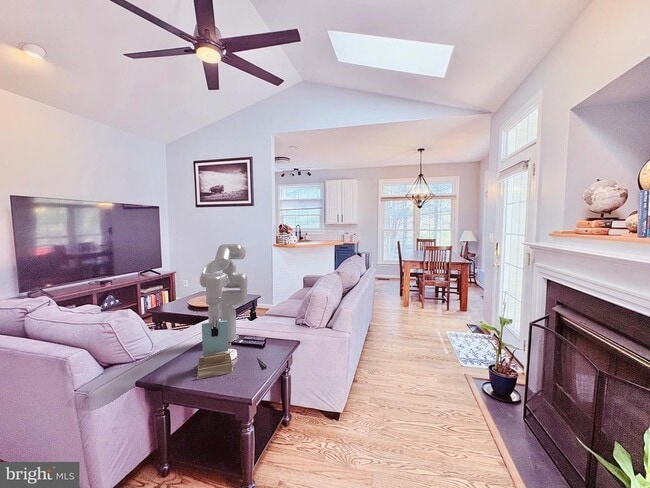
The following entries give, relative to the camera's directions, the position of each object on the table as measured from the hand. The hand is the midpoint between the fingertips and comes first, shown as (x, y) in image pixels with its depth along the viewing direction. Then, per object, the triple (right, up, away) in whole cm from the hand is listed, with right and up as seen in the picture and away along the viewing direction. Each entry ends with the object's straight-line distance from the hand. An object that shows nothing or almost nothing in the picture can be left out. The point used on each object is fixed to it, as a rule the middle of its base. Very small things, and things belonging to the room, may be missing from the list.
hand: (214, 335), depth 142 cm
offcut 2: (+3, -15, -6) cm, 17 cm away
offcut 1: (+1, -15, -3) cm, 16 cm away
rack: (+2, -17, -4) cm, 17 cm away
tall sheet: (0, -9, +1) cm, 9 cm away
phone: (+20, -17, +2) cm, 26 cm away
